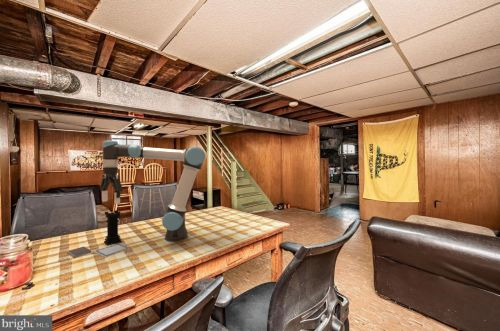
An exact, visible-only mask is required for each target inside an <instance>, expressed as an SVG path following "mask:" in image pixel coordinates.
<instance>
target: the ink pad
mask: <svg viewBox="0 0 500 331" xmlns="http://www.w3.org/2000/svg"><path fill="white" fill-rule="evenodd" d="M66 252H67V253H66V254H68V255H69V256H70V257H72V258H78V257H82V256H84V255H87V254H90V253H92V249H89V248H88V247H86V246H81V247H77V248H74V249H70V250H67V251H66Z"/></svg>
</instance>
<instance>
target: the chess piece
mask: <svg viewBox="0 0 500 331" xmlns="http://www.w3.org/2000/svg"><path fill="white" fill-rule="evenodd" d="M104 214H105V218H107V220H106V223H107V227H106V228H107V230H106V231H107V232H106V233H107V234H106V235H105V238H104V241H103V243H104V245H106V247H109V246H112V245H115V244H118V243H120V244H121V243H123V242H122V238H121V237H120V235H119V221H120V220H119V218H120V217H121V211H119V210H118V209H116V210H114V212H109V211H105V212H104Z"/></svg>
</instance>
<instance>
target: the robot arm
mask: <svg viewBox="0 0 500 331" xmlns="http://www.w3.org/2000/svg"><path fill="white" fill-rule="evenodd" d="M101 149H102V162H101V163H102V173H103V174H102V176H101V177H102V178H101V182H100V186H99V190H100V191H101V201H102V203H105V202H108V200H109V196H108V194H109V193H108V191H109V190H108V188H109V185H110V184H111V185H112V187H113V190H114V195H113V196H114V205H115V204H116V205H118V204H121V192H123V189H124V188H123V186H122V183H121V179H120V175H119V174H118V173H119V158H134V159H135V158H136V159H150V160H152V159H155V160H164V161H168V160H169V161H177V162H183V163H182V166H183V170H182V172H181V173H182V174H181V176H180V179H179V181H178V185H177V187H176V191H175V192H174V196H173V198H172V201H171V203H170V204H168V205H167V207H166V211H165V214H164V215H163V216H162V221H161V225H162V226H163V227H164V229H166V231H165V233H164V240H165V241H168V242H179V241H183V240H185V239H187V238H188V235H189V234H188V230H187V227H186V212H187V208H186V205H187V202H188V200H189V196H190V194H191V191H192V188H193V185H194V183H195V180H196V177H197V174H198V172H200V171H201V170H202V167H203V164H204V162H205V159H206V152H205V151H204V149H202V148H201V147H200V146H191V147H190V148H184V149H177V148H176V149H174V148H173V149H172V148H162V147H161V148H159V147H149V146H140V145H138V144H133V143H132V144H119V143H118V141H117V140H104V141H103V142H102V148H101ZM117 174H118V175H117Z"/></svg>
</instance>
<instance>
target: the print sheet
mask: <svg viewBox="0 0 500 331" xmlns="http://www.w3.org/2000/svg"><path fill="white" fill-rule="evenodd" d="M130 249H132V248H131V247H129V246H127V245H125V244H121V243H117V244H113V245H109V246H105V247H103V248H100V249H95V250H93V253H95V254H97V255H99V256H100V257H101V256H102V257H103V258H108V257H110V256H113V255H116V254H119V253H122V252H125V251H127V250H130Z"/></svg>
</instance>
